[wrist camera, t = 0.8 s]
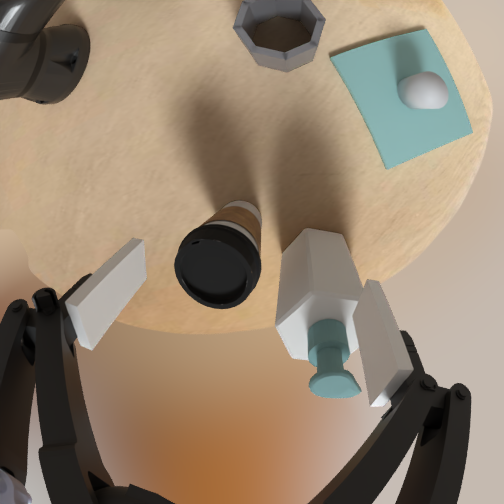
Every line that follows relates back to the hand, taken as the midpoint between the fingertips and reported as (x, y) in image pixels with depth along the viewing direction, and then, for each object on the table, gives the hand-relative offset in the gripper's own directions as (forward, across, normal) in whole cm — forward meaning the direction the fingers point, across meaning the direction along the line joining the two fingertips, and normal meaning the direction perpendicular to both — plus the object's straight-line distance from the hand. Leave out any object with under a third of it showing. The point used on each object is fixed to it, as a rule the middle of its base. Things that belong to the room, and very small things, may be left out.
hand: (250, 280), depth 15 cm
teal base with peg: (+22, +16, +17) cm, 32 cm away
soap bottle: (+22, +8, -9) cm, 25 cm away
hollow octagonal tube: (+22, -2, +20) cm, 30 cm away
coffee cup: (+22, -4, -6) cm, 23 cm away
